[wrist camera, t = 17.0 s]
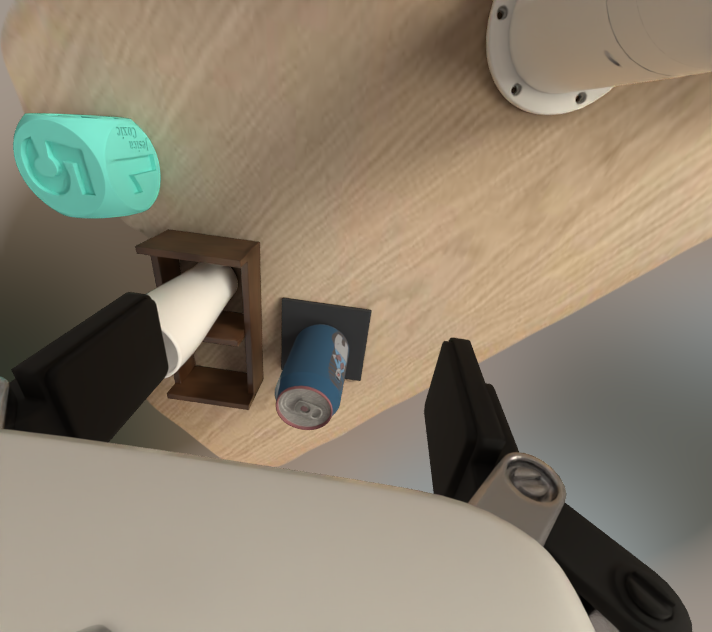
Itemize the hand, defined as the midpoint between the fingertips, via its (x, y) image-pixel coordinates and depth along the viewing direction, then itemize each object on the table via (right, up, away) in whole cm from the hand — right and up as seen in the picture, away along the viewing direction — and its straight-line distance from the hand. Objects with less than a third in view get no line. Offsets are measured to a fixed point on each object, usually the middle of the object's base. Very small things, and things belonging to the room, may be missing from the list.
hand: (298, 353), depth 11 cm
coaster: (-2, -2, +34) cm, 34 cm away
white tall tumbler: (-15, +6, +31) cm, 35 cm away
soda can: (-2, -2, +34) cm, 34 cm away
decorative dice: (-22, +18, +25) cm, 38 cm away
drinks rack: (-15, +2, +33) cm, 37 cm away
